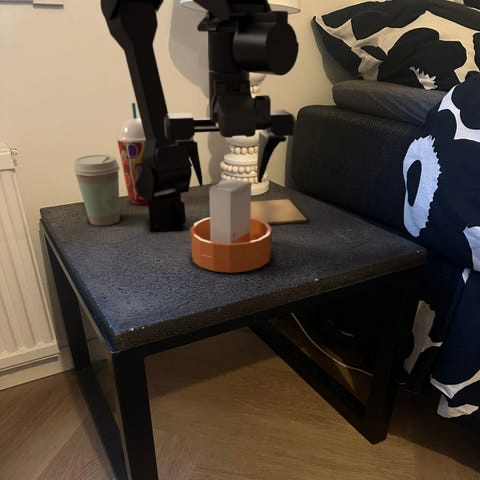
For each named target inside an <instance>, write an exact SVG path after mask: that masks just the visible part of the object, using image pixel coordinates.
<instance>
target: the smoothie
mask: <svg viewBox="0 0 480 480" xmlns="http://www.w3.org/2000/svg"><path fill="white" fill-rule="evenodd" d="M131 108H132V117H131V118H128V119H126V120H125V121H124V122H123V123H122V124H121V125H120V128H119V129H118V134H117V136H116V141H117V147H118V151H119V156H120V161H121V165H122V166H121V167H122V171H123V177H124V181H125V186H126V193H127V196H128V198H129V199H130V201H131V203H132V204H135V205H139V206H146V205H147V206H148V201H147V199H145V198H143V197H140V196H139V195H138V193H137V189H136V185H135V184H136V182H137V180H138V178H139V176H140V174H141V173H142V171H143V167H142V161H141V157H142V153H143V150H144V146H145V143H146V139H145V135H144V131H143V127H142V122H141V118H140V117H137V107H136V102H132V103H131Z"/></svg>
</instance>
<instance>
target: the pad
mask: <svg viewBox="0 0 480 480" xmlns="http://www.w3.org/2000/svg"><path fill="white" fill-rule="evenodd" d="M251 217H254V218H258V219H261V220H263V221H265V222H267V223H268V224H269V225H281V224H295V223H307V218H306V217H305V216H304V215H303V214H302V212H301V211H300V210H299V209H298V208H297V207H296V205H295V204H294V203H293V202H292V201H291V200H290V199H287V198H286V199H273V200H272V199H271V200H257V201H255V200H254V201H251Z"/></svg>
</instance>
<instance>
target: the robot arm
mask: <svg viewBox="0 0 480 480" xmlns="http://www.w3.org/2000/svg"><path fill="white" fill-rule="evenodd" d="M164 1H165V0H100V10H101V13H102V16H103V17H104V20H105V23H106V26H107V30H108V32H109V34H110V36H111V37H112V38H113V40H114V41H115V42H116V43H117V44H118V46H119V47H120V48H121V49H122V50H123V52H124V56H125V59H126V64H127V65H126V66H127V69H128V73H129V77H130V81H131V85H132V90H133V93H134V99H135V103H136V106H137V110H138V113H139V118H141V122H142V127H143V131H144V135H145V139H146V143H145V146H144V150H143V153H142V157H141V161H142V167H143V171H142V173H141V174H140V176H139V178H138V180H137V182H136V184H135V185H136V189H137V193H138V195H139V196H140V197H143V198H145V199H147V201H148V204H147V209H148V210H147V211H148V222H149V223H148V224H149V225H148V226H149V231H150V232H163V231H178V230H184V229H185V223H186V222H187V221H186V220H187V219H186V206H185V200H184V198H182V194H183V193H189V192H190V185H191V181H192V175H193V171H194V173H195V176H196V179H197V182H198V184H199V187H203V173H202V167H201V159H200V154H199V147H198V140H197V139H196V137H195V135H196V133H218V132H219V134H220V136H221V137H223V138H226V139H232V138H233V137H246V138H251V137H254V136H255V135H256V132H257V131H258V144H257V145H258V148H257V160H256V162H257V163H256V181H257V183H260V184H261V183H262V181H263V179H264V176H265V173H266V171H267V167H268V165H269V162H270V160H271V157H272V156H273V153H274V151H275V150H276V148H277V147H278V146H279V144H281V143H284V142H287V139H288V138H287V137H293V136H296V133H297V120H296V119H297V118H296V117H295V115H294V114H293V113H291V112H289V111H287V110H286V109H272V108H271V107H272V105H271V104H272V101H271V100H272V99H271V98H270V95H267V94H264V95H255V96H254V97H253V95H252V92H251V79H250V74H259V75H271V76H279V77H280V76H282V77H283V76H284V75H287V74H288V73H290V72H291V70H292V69H293V68H294V66H295V64H296V62H297V59H298V57H299V56H298V55H299V50H300V49H299V48H300V47H299V46H300V43H299V42H298V37H297V33H296V31H295V29H294V27H293V26H292V25H291V24H290V23H289V12H288V10H272V7H271V4H270V3H269V1H268V0H192V2H193V3H195V4H196V5H197V6H199V7H201V9H204V10H206V13H205V15H204V17H203V18H202V19H201V21H199V23H198V25H197V27H196V29H197V31H198V32H199V33H201V32H204V33H205V32H206V42H207V45H206V46H207V77H208V104H209V108H208V109H209V117H204V118H203V117H202V118H195V117H194V116H193V115H192V113H191V112H171V113H169V111H168V106H167V101H166V97H165V92H164V88H163V83H162V79H161V75H160V71H159V65H158V62H157V61H158V60H157V56H156V52H155V49H154V48H155V47H154V41H155V38H156V35H157V31H158V29H159V19H158V13H159V10H160V9H161V7H162V5H163V3H164ZM192 167H193V169H192Z"/></svg>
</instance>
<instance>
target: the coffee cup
mask: <svg viewBox="0 0 480 480" xmlns="http://www.w3.org/2000/svg"><path fill="white" fill-rule="evenodd" d="M73 164H74V165H73V173H74V174H75V177H76V180H77V184H78V187H79V191H80V195H81V197H82V200H83V203H84V207H85V210H86V213H87V217H88V220H89V223H90V224H91V225H93V226H101V227H102V226H110V225H113V224H116V223H118V222H119V221H120V220H121V219H120V181H119V176H120V175H119V171H120V169H121V167H120V164H119V162H118V161H117V159H116V157H115V156H114V155H111V154H110V155H109V154H91V155H90V154H89V155H84V156H80V157H77V158H75V159H74V163H73Z"/></svg>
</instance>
